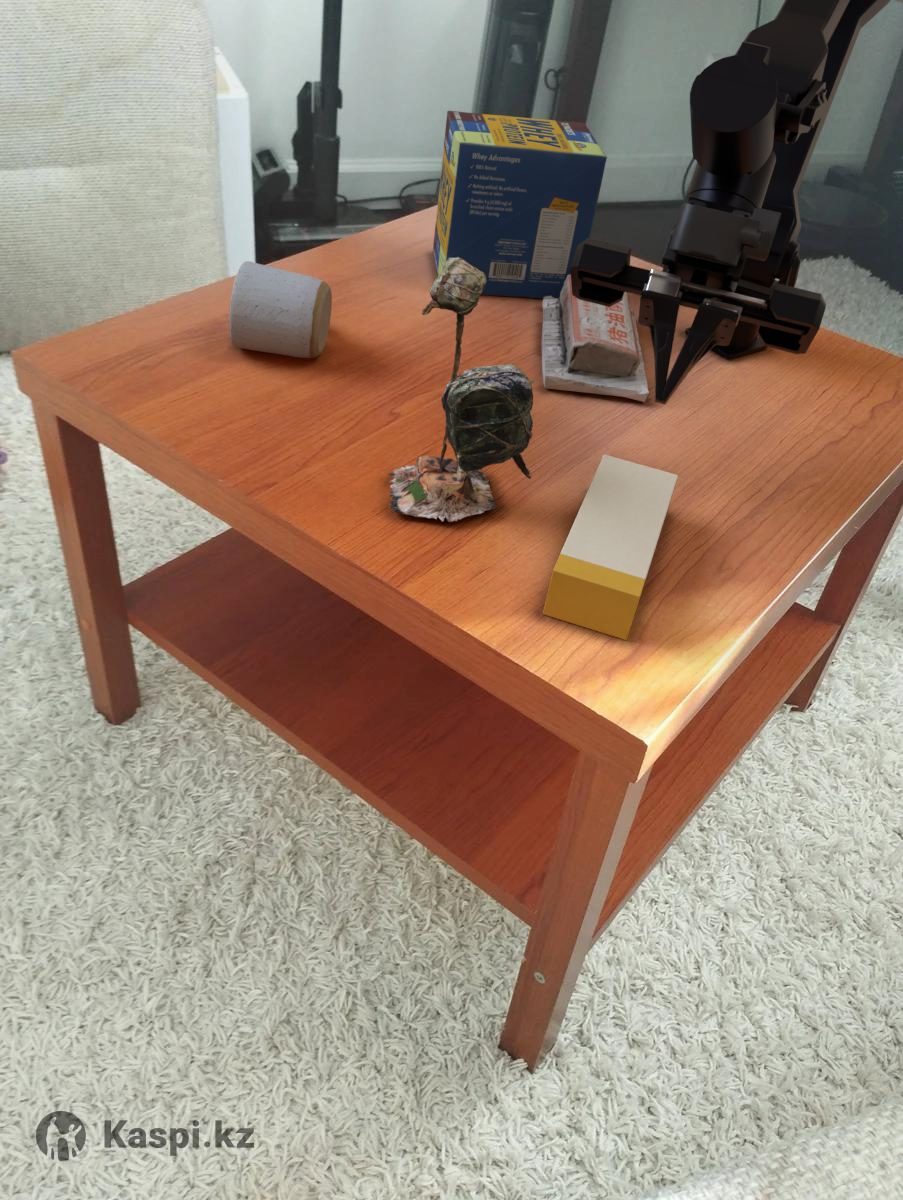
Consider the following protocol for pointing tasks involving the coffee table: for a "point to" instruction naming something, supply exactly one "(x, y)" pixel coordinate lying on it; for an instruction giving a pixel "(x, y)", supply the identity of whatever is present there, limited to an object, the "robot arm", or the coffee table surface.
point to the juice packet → (610, 547)
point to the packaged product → (591, 347)
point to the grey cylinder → (279, 311)
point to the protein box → (516, 199)
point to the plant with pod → (467, 419)
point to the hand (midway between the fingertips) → (660, 401)
